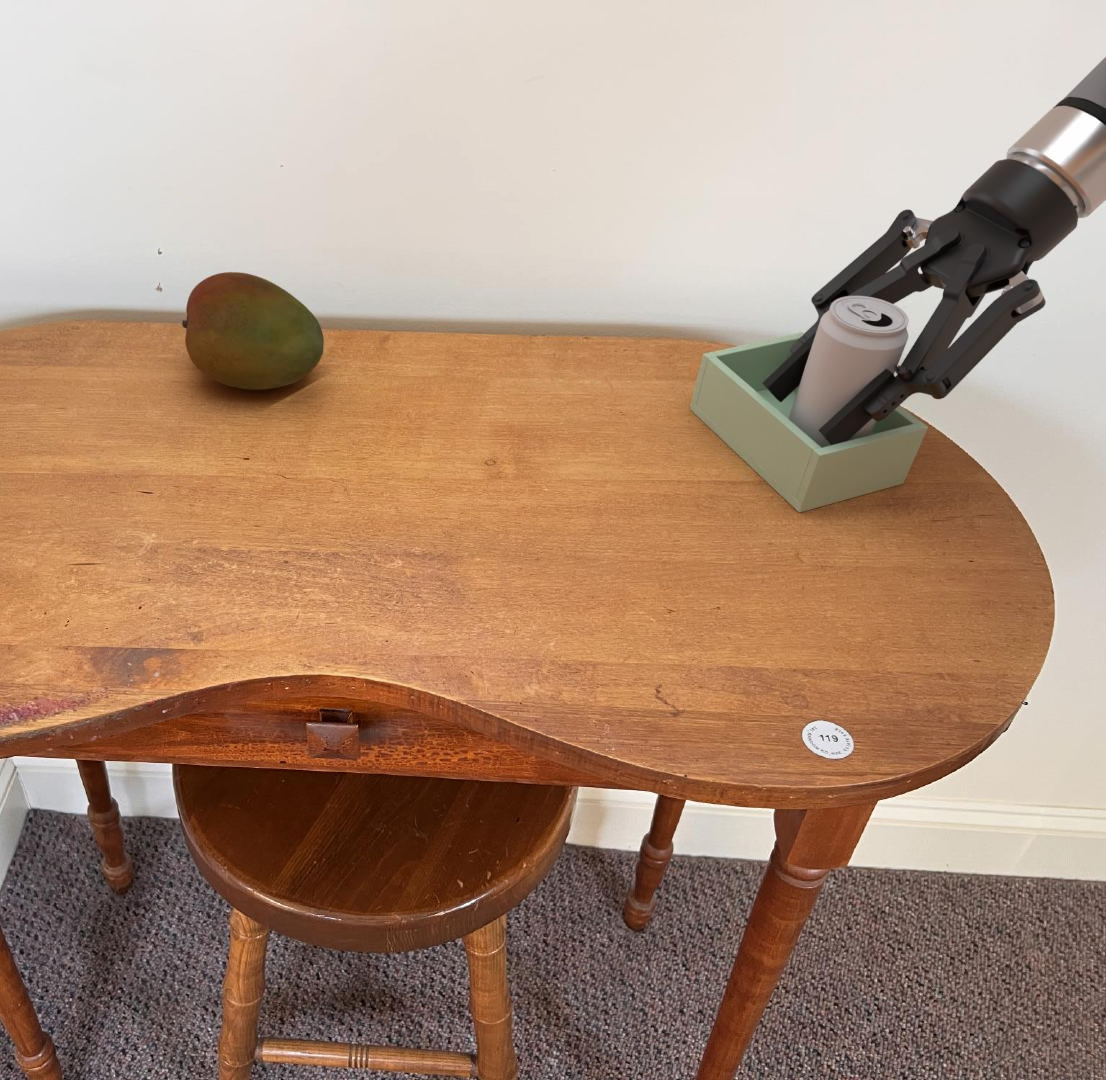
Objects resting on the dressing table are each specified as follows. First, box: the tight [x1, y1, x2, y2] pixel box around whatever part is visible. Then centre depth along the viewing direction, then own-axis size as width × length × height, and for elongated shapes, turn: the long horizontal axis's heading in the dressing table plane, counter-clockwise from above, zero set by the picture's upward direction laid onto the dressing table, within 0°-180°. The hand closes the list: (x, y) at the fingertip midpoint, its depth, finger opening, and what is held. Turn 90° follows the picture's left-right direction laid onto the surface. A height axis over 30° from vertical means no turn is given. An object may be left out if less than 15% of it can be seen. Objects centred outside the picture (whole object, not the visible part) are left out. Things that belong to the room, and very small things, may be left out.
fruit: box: [182, 271, 325, 391], centre depth 93 cm, size 12×12×10 cm
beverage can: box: [789, 296, 910, 448], centre depth 82 cm, size 6×6×12 cm
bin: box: [689, 331, 929, 513], centre depth 88 cm, size 16×11×6 cm
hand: (799, 415), depth 83 cm, fingers closed on beverage can, 6 cm apart
